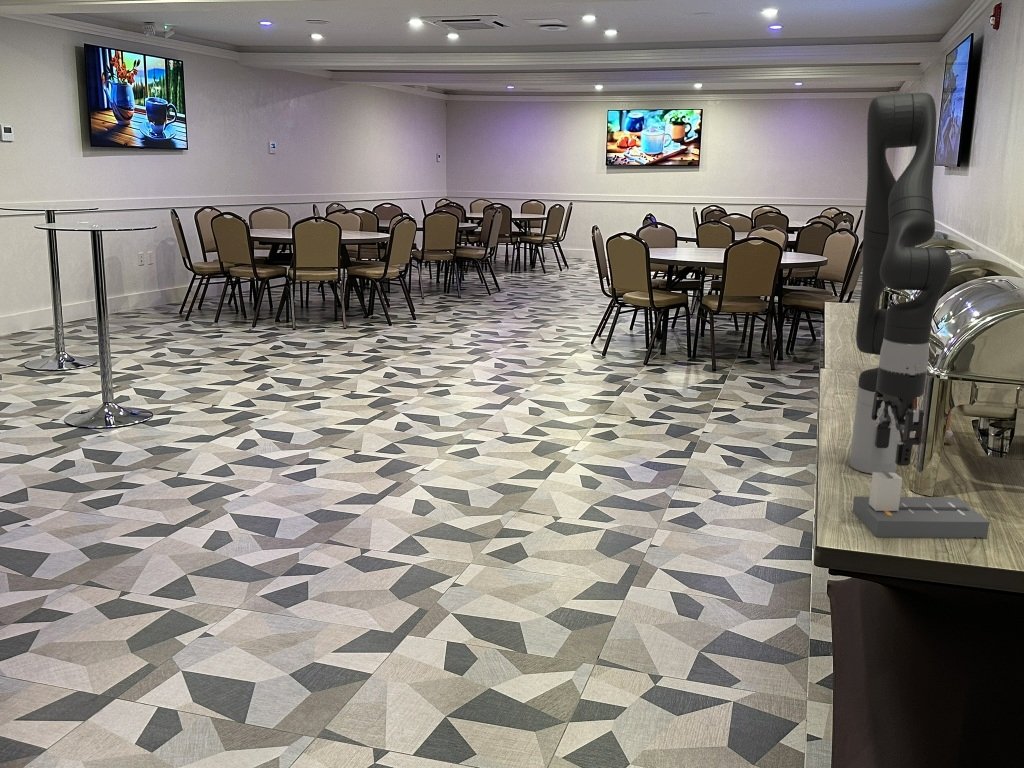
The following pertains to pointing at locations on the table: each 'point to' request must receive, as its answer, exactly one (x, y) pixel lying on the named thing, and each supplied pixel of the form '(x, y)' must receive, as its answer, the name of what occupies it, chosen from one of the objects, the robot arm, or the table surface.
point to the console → (923, 518)
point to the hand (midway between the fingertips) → (891, 456)
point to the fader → (885, 491)
